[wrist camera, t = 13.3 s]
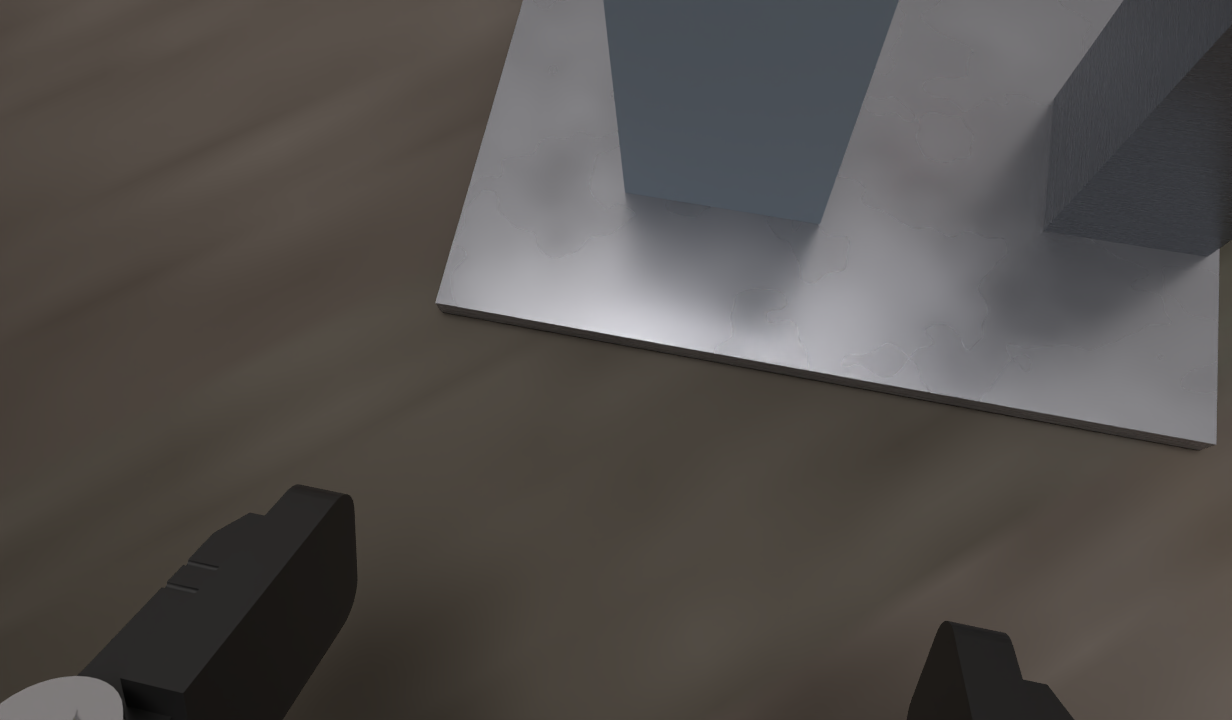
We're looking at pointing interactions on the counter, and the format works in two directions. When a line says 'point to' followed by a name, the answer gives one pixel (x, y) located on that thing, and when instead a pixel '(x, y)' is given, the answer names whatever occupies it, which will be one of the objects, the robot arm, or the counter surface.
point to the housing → (741, 97)
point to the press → (901, 218)
